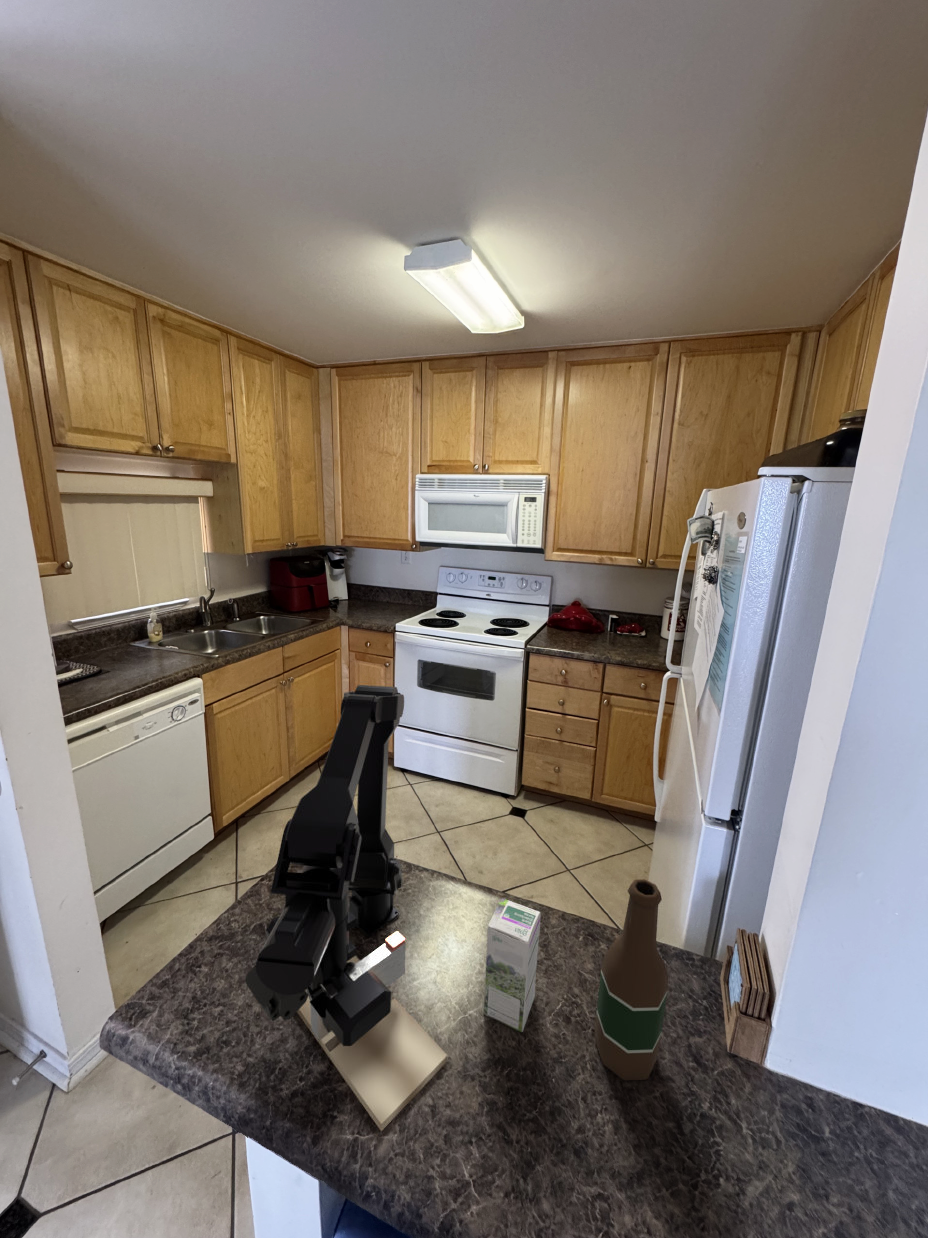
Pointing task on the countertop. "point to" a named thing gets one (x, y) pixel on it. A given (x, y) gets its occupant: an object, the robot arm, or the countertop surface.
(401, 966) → the grey rectangular bar
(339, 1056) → the post board
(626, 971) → the beer bottle
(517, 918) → the syrup box
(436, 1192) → the countertop surface
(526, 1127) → the countertop surface
